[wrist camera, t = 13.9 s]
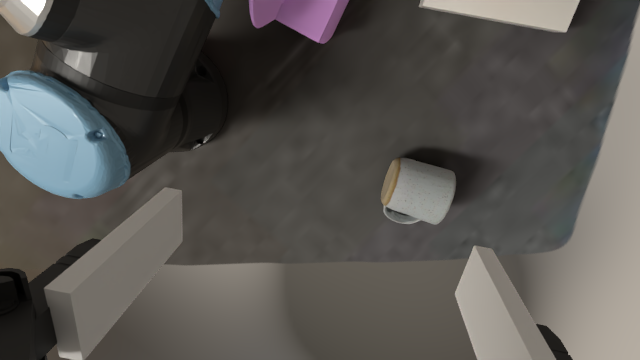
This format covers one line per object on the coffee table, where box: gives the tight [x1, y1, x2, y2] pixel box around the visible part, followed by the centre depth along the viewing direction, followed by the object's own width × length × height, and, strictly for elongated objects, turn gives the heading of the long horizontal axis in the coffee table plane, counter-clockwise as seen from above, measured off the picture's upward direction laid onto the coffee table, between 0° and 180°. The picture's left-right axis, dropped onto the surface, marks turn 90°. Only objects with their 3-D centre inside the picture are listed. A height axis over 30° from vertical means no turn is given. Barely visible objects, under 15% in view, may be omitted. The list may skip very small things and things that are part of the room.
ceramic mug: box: [381, 158, 456, 224], centre depth 48 cm, size 11×8×8 cm
